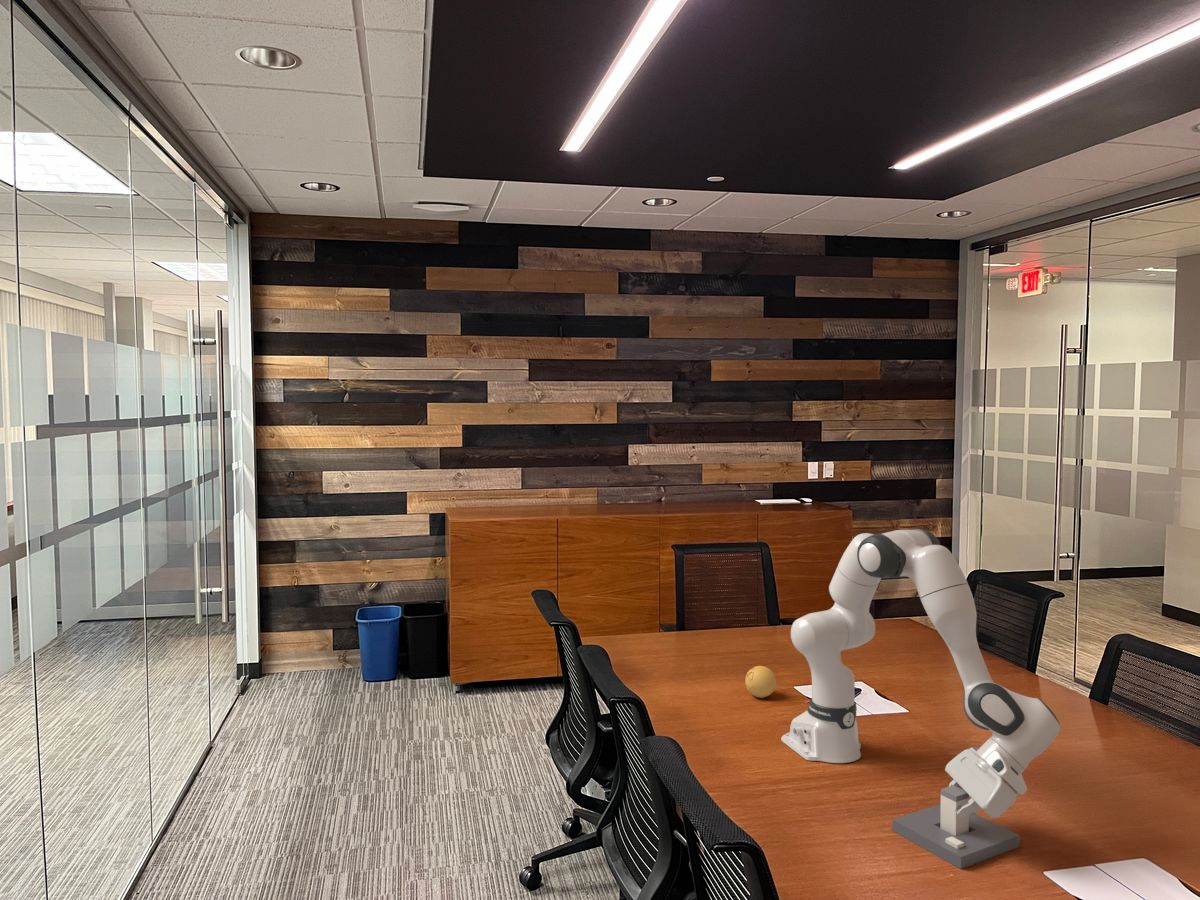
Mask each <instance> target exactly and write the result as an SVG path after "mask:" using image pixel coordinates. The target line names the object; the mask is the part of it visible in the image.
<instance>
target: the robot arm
mask: <svg viewBox="0 0 1200 900" xmlns="http://www.w3.org/2000/svg"><path fill="white" fill-rule="evenodd" d="M900 577H907V578H909V579H910V580H911V581H912V582H913V584H914V586H915V589H916V591H917V593H918V594H917V595H918V597H919V599H920V602H921V604H922V606H923V608H924V610H925V613H926V614H927V616H928V618H929V620H930V621H931V623H932V624H933V627H935V629H936V630H937V632H938V634H939V635H940V636H941V638H942V639H943V641H944V643H945V644H946V646H947V647H948V649H949V652H950V654H951V656H952V659H953V661H954V664H955V668H956V670H957V672H958V675H959V677H960V680H961V682H962V687H963V699H962V701H963V702H962V704H963V711H964V713H965V717H966V718H967V719H968V720H969V721H970V723H971V724H973V725H974V726H976V727H977V728H979V729H982V730H985V731H991V732H992V735H991V736H990V737H989V738H988V739H987V740H985V742H984V743H983V744H982V745H981V746H980V747H979V746H974V747H973V746H972V747H970V748H966V749H964V750H962V751H961V752H959V753H958V754H957V755H955V757H953V758H952V759H951V760H950V761H949V762H947V764H946V766H945V768H944V771H945V772H946V773H947V774H948V775H949V777H951V778H952V779H953V780H951V781H950V783H949V784H948V787H950V786H953V785H954V786H956V787H958V788H960V789H963V790H964V791H965V792H966V793H967V794H968V795H969V801H968V802H969V803H968V804H966V805H964V806H962V807H961V806H959V807H958V808H957V809H956V810H955V812H956V814H957V815H958V816H959V817H960V818H961V819H964V818H965V817H966V816H967V815H968V814H972V813H977V812H978V811H979V810H982V811H984V812H985V814H987V815H988V816H989V817H990V818H991V819H996V818H998V817H1000V816H1002V815H1003V814H1004V813H1006V811H1007V810H1009V808H1010V807H1012V805H1014V804H1015V802H1016V800H1017V799H1018V796H1023V795H1024V794H1025V793H1027V791H1028V786H1027V785H1026V782H1025V780H1024V779H1025V778H1024V777H1023V776H1024V775H1023V774H1022V773H1023V772H1024V771H1025V770H1026V769H1027V767H1028V766H1029V764H1030V763H1031V761H1032V760H1034V759H1036V758H1037V757H1039V756H1040V755H1042V753H1044V752H1045V751H1046V750H1047V748H1048V747H1049V746H1050V745H1051V744H1052V742H1054V740H1055V739H1056V738H1057V737H1058V735H1059V733H1060V729H1061V725H1060V722H1059V719H1058V718H1057V716H1056V714H1055V713H1054V712H1053V710H1051V709H1050V707H1049V706H1048V705H1047V703H1045V702H1044V701H1043V700H1042V699H1040V698H1038V697H1029V696H1026V695H1023V694H1020V693H1018V692H1014V691H1012V690H1010V689H1008V688H1006V687H1004V686H1002V685H1001V684H998V683H995V681H994V680H993V679H992V676H991V675H990V671H989V669H988V667H987V664H986V662H985V660H984V657H983V654H982V652H981V650H980V649H981V648H980V647H979V643H978V638H977V617H978V616H977V608H976V603H975V600H974V597H973V596H974V595H973V593H972V591H971V588H970V585H969V583H968V580H967V578H966V576H965V574H964V572H963V570H962V568H961V566H960V565H959V563H958V562H957V560H956V559H955V556H954V555H953V554H952V552H951V551H950V550H949V548H947V547H945V546H944V545H941V543H940V541H939V539H938V537H937V536H936V535H935V534H934V533H932V532H931V531H928V530H925V529H921V528H920V529H919V528H913V529H898V530H897V529H896V530H892V531H887V532H884V533H875V534H874V533H871V532H870V533H868V532H865V533H864V532H863V533H859V534H857V535H855V536H854V538H852V540H851V542H850V543H849V544H848V545H847V548H846V549H845V550H844V552H843V554H842V556H841V558H840V560H839V562H838V564H837V567H836V569H835V572H834V573H833V576H832V578H831V581H830V583H829V585H828V592H829V595H830V596H831V599H832V601H834V603H833V606H832V607H830V608H829V609H827V610H821V611H816V612H811V613H807V614H804V615H802V616H801V617H799V618H797V619H795V620H794V621H793V622H792V624H791V628H790V640H791V641H792V642H791V643H792V644H793V647H794V648H795V649H796V650H797V651H798V652H799V653H800V654H801V655H803V657H805V659H806V661H807V663H808V666H809V670H810V674H811V696H812V697H810V698H807V699H806V698H805V702H804V704H808V705H807V710H805V711H803V712H802V713H801V714H799V715H797V716H795V717H794V718H793V719H792V721H790V722H791V723H790V727H789V732H786V733H785V734H783V735H781V740H780V741H781V742H782V743H784V744H785V745H786V746H788V747H789V748H790V749H792V750H793V752H795V753H796V754H798V755H799V756H800V757H802V759H805V761H811V762H812V761H813V762H814V761H815V762H816V761H817V762H825V763H831V764H846V763H852V762H855V761H857V760H859V759H860V758H861V757H862V753H861V748H862V745H861V742H860V741H859V732H858V723H857V722H858V721H857V719H856V718H857V711H858V709H857V702H856V701H855V696H856V695H855V694H856V693H855V692H856V691H855V689H856V687H855V684H856V683H855V682H856V681H855V680H856V679H855V677H856V676H855V675H854V672H853V671H852V670H851V669H850V668H849V667H848V666H846V665H845V664H843V661H842V657H841V653H842V651H845V650H850V649H855V648H859V647H861V646H863V645H865V644H866V643H868V642H870V641H871V640H873V638H874V636H875V634H876V622H875V619H874V617H873V615H872V614H871V613H870V607H871V603H872V600H873V599H874V596H875V594H876V592H877V589H878V586H879V585H880V582H881V580H882V579H898V578H900Z"/></svg>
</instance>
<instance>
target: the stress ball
mask: <svg viewBox="0 0 1200 900" xmlns="http://www.w3.org/2000/svg"><path fill="white" fill-rule="evenodd" d="M744 681H745V682H744V684H745V687H746V689H747V691H748V692H749V693H750V694H751V695H753V696H754V697H756V698H758V699H765V698H766V697H769V696H771V694H773V693H774V691H775V689H776V688H777V677H776V675H775V673H774V672H773V670H771V669H770V668H768V667H767V666H763V665H757V666H753V667H751V668H750V669H749V670H748V671H747V672H746V675H745V679H744Z"/></svg>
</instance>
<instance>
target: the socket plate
mask: <svg viewBox="0 0 1200 900" xmlns="http://www.w3.org/2000/svg"><path fill="white" fill-rule="evenodd" d="M940 818H941V803H938V804H936V805H933V806H929V807H926V808H923V809H921V810H918V811H915V812H911V813H908V814H905V815H903V816H898V817H895V818H893V819H892V831H893V832H895V833H896V834H898V835H900V836H901V837H903V838H905V839H907V840H909V841H910V842H913V844H915V845H918V846H919V847H921V848H923V849H925V850H926V851H928V852H930V853H932V854H934V855H935V856H937V857H939V858H940V859H942V860H944V861H946V862H948V863H949V864H950V865H953V866H955V867H956V868H957V869H960V870H962V869H965V868H968V867H970V866H973V865H976V864H978V863H981V862H983V861H985V860H989V859H991V858H994V857H996V856H998V855H1002V854H1004V852H1005V853H1007V852H1009V851H1012V850H1015V849H1017V848H1020V845H1021V843H1020V842H1021V839H1020V834H1019V833H1018V834H1017V833H1016V832H1014V831H1011V830H1010V829H1008V828H1005V827H1003V826H1002V825H1000V824H998V823H995V822H993V821H992V820H989V819H987V818H985V817H984V816H981V815H979V814H977V813H976V812H974V813H972V814H969V833H966V834H963V835H960V836H957V837H956V836H954V835H953V834H951V833H949V832H947V831H945V830H943V829H941V828H940ZM975 863H976V864H975Z"/></svg>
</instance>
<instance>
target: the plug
mask: <svg viewBox="0 0 1200 900" xmlns="http://www.w3.org/2000/svg"><path fill="white" fill-rule="evenodd" d="M969 800H970V796H969V795H968V794H967V793H966V792H965V791H964V790H963V789H960V788H958V787H956V786H954V785H953V786H950V787H949V786H947V787H944V788H941V789H940V804H941V818H940V828H941V829H943V830H945V831H947V832H949V833H951V834H953V835H954V836H956V837H957V836H960V835H963V834H966V833H969V814H968V815H967V816H966V817H965V818H964V819H961V818H960V817H959V816H958V815H957V814H956V812H955V810H956V809H957V808H958V807H959V806H961V807H962V806H964V805H966V804H968V803H969V802H968V801H969Z"/></svg>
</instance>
